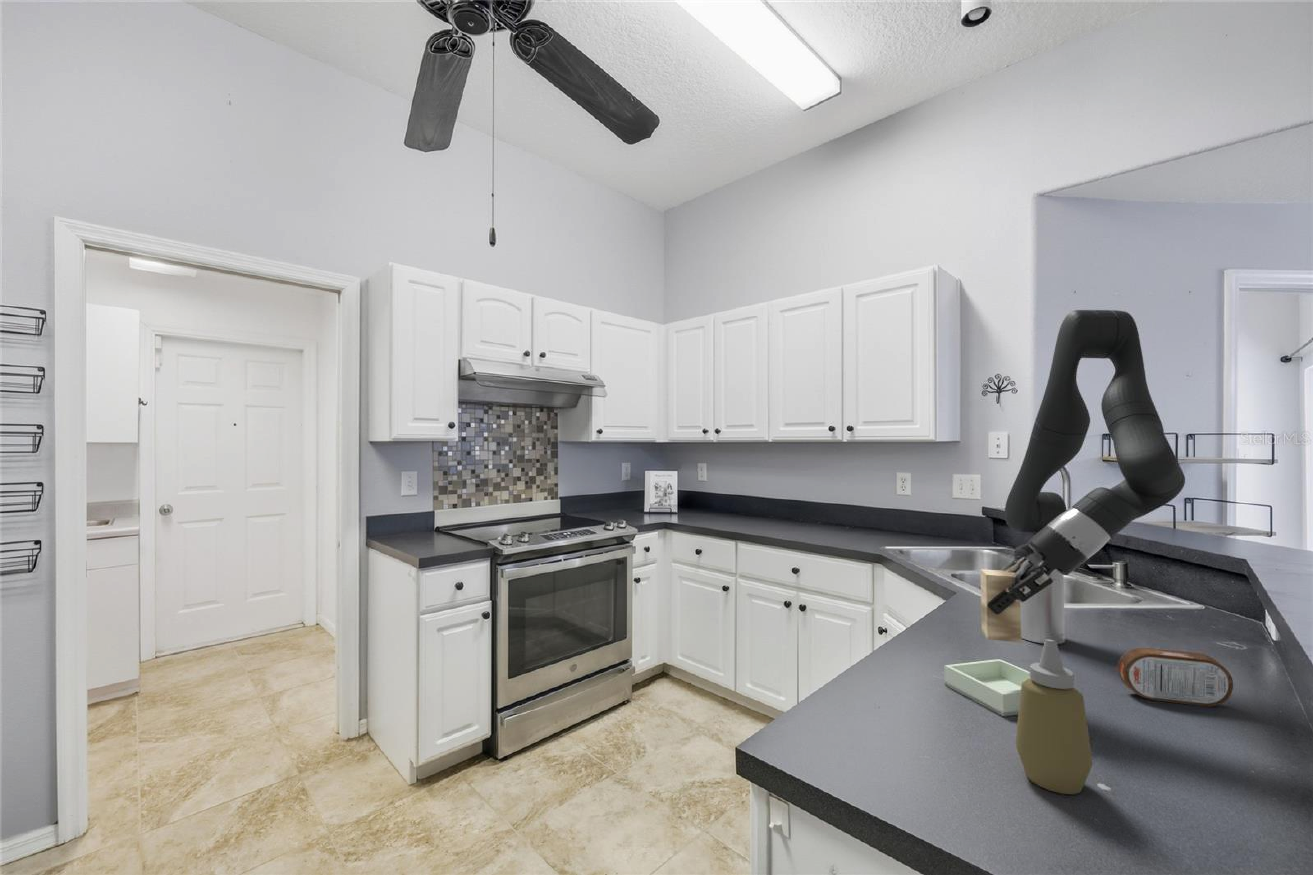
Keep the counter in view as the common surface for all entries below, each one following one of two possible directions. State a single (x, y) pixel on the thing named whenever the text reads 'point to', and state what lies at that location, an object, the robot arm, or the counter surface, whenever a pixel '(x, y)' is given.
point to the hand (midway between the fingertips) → (988, 605)
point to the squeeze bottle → (1053, 726)
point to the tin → (1175, 676)
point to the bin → (988, 684)
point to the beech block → (1008, 620)
